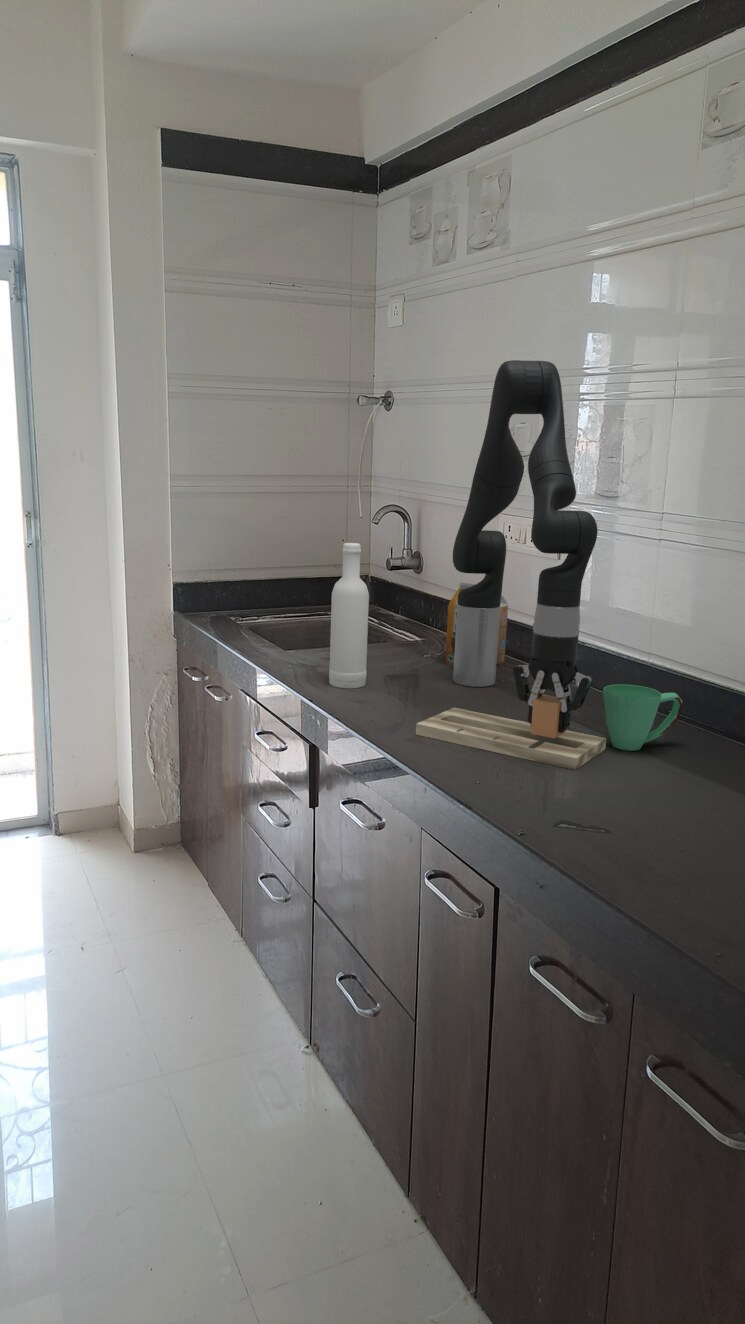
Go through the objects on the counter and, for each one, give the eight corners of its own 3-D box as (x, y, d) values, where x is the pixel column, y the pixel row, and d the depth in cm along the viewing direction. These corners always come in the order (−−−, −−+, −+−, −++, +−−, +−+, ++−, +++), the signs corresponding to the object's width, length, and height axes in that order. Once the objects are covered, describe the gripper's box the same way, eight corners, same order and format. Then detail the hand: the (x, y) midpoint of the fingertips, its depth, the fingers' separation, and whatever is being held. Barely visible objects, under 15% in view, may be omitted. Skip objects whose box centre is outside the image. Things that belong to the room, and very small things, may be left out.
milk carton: (504, 662, 230) (509, 584, 226) (485, 670, 222) (490, 589, 217) (465, 656, 236) (469, 580, 232) (445, 663, 227) (449, 584, 223)
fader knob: (539, 742, 166) (543, 694, 164) (563, 747, 164) (567, 698, 162) (529, 748, 163) (533, 699, 161) (553, 753, 160) (557, 704, 159)
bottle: (344, 690, 198) (349, 546, 191) (321, 682, 204) (325, 542, 197) (373, 685, 203) (379, 544, 196) (350, 678, 209) (354, 541, 202)
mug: (615, 756, 161) (620, 699, 159) (588, 739, 171) (593, 685, 168) (691, 752, 165) (697, 697, 163) (661, 735, 174) (666, 683, 172)
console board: (453, 717, 181) (453, 707, 180) (605, 749, 165) (606, 737, 165) (415, 734, 169) (416, 723, 169) (575, 770, 154) (576, 757, 153)
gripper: (605, 633, 158) (595, 732, 162) (526, 622, 166) (518, 716, 170) (588, 640, 152) (579, 742, 156) (507, 628, 160) (500, 726, 163)
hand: (548, 728), depth 163 cm, fingers closed on fader knob, 4 cm apart
